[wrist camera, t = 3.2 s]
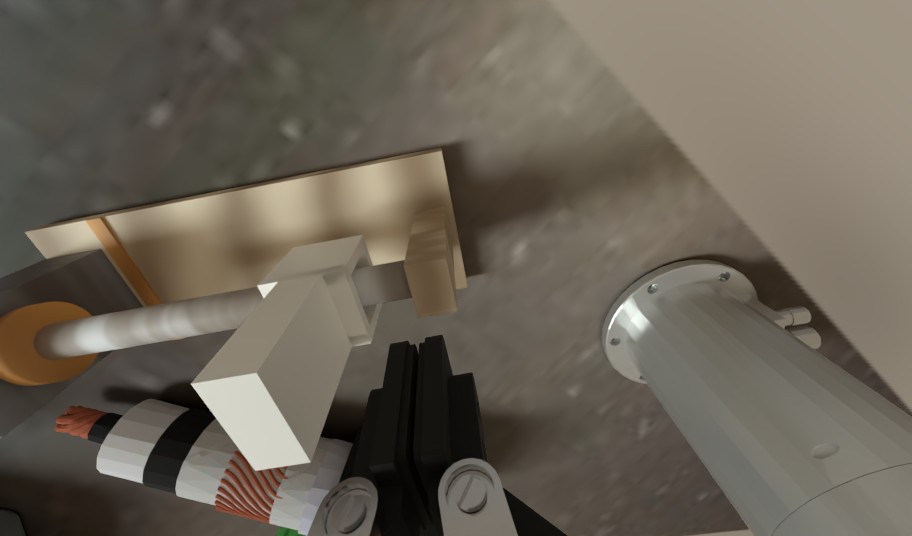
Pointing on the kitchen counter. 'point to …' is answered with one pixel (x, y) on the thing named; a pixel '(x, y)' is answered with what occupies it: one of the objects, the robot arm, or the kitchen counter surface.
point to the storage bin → (10, 524)
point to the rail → (216, 266)
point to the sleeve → (290, 354)
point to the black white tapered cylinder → (210, 462)
